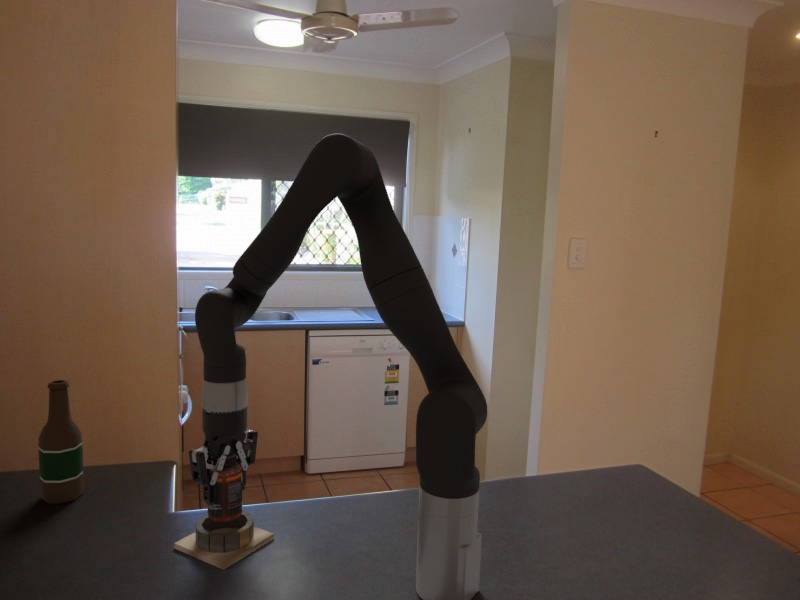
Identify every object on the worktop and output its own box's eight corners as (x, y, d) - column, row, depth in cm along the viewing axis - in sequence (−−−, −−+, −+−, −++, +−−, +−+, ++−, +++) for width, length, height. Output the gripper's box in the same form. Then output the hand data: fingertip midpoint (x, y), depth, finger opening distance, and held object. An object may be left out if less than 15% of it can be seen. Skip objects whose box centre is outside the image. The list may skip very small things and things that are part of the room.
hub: (273, 538, 111) (273, 517, 110) (223, 569, 100) (223, 546, 100) (226, 521, 117) (226, 501, 116) (174, 548, 106) (173, 526, 106)
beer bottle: (42, 491, 127) (37, 378, 124) (84, 485, 130) (81, 375, 127) (38, 507, 120) (33, 388, 117) (83, 501, 123) (79, 384, 120)
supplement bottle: (248, 510, 110) (248, 449, 109) (232, 525, 104) (232, 462, 103) (217, 506, 111) (217, 446, 110) (200, 521, 106) (200, 458, 104)
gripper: (239, 391, 113) (239, 477, 115) (175, 410, 101) (177, 506, 103) (270, 398, 110) (269, 487, 112) (207, 418, 97) (208, 518, 99)
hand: (225, 496), depth 107 cm, fingers closed on supplement bottle, 6 cm apart
